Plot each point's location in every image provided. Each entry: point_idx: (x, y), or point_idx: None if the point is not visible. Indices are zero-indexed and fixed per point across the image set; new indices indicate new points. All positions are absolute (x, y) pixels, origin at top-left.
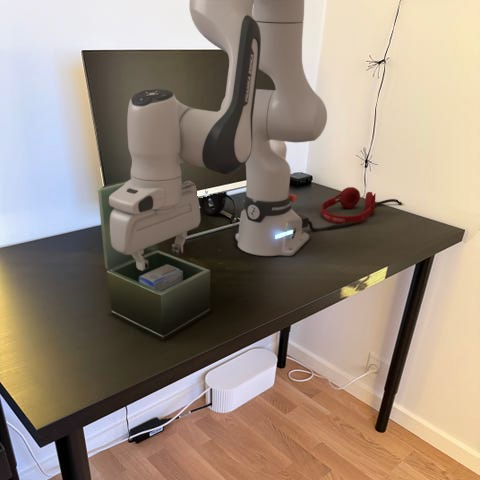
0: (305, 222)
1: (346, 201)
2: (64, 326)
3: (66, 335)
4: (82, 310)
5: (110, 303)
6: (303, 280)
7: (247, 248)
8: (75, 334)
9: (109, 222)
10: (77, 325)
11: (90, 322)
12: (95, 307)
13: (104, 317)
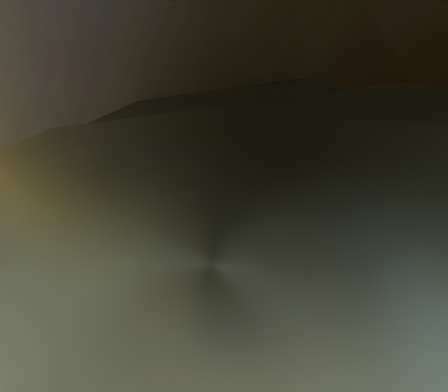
0: None
1: None
2: (6, 68)
3: (8, 112)
4: (69, 16)
5: (123, 107)
6: None
7: None
8: (30, 122)
9: None
10: (41, 88)
11: (75, 98)
12: (110, 29)
13: (114, 101)
